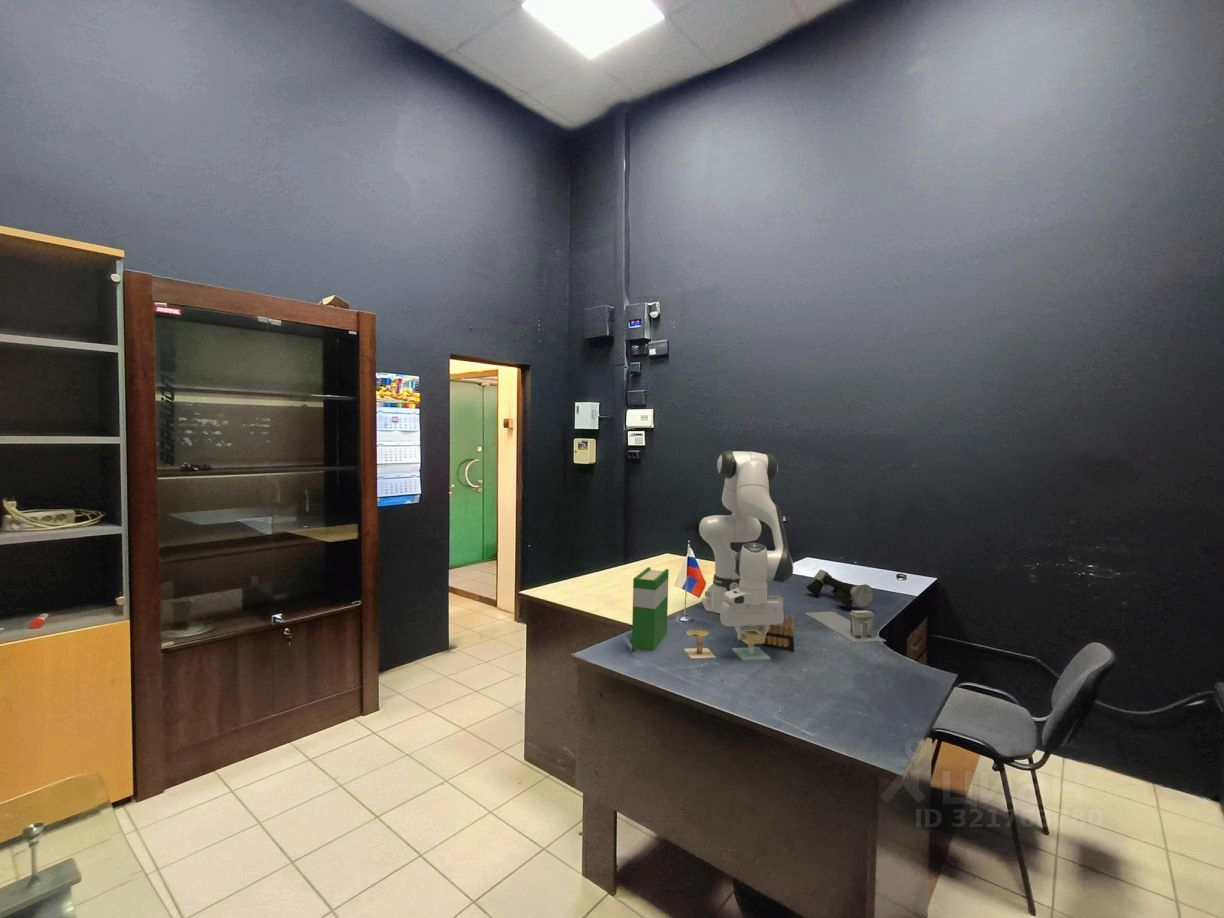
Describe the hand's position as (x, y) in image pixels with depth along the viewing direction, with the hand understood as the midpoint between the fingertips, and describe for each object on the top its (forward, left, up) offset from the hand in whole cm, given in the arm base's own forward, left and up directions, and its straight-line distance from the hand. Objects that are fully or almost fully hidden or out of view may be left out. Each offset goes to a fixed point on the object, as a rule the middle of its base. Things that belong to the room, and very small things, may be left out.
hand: (751, 638), depth 176 cm
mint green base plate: (0, 0, -7) cm, 7 cm away
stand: (-3, -16, -7) cm, 18 cm away
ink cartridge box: (-14, +12, -7) cm, 20 cm away
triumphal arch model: (-26, +48, -7) cm, 55 cm away
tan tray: (0, 0, 0) cm, 1 cm away
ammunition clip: (-8, +13, -7) cm, 17 cm away
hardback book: (-16, -29, -7) cm, 34 cm away
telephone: (-55, +65, -7) cm, 86 cm away
